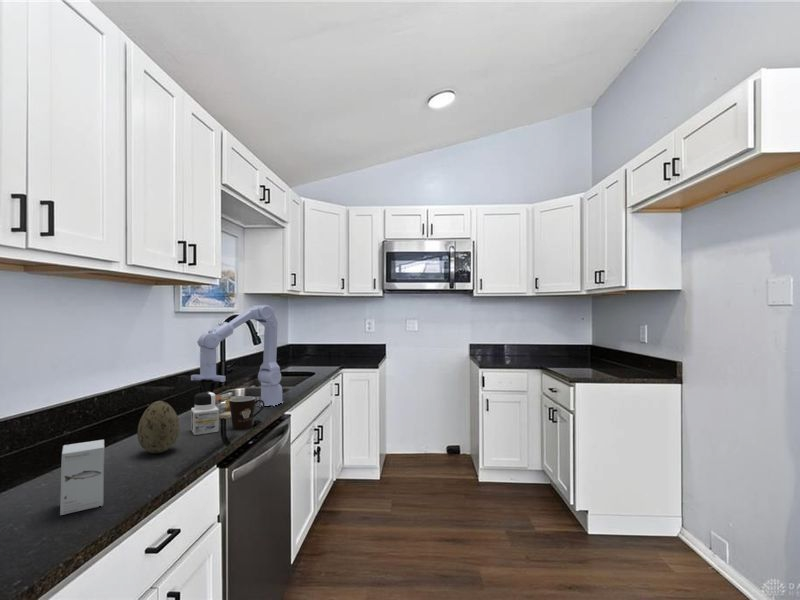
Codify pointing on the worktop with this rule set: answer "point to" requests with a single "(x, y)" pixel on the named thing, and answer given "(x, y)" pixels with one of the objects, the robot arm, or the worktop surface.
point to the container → (204, 414)
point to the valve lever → (223, 396)
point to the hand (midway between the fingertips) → (207, 399)
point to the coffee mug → (243, 412)
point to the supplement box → (82, 476)
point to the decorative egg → (158, 427)
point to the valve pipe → (224, 404)
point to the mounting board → (225, 414)
